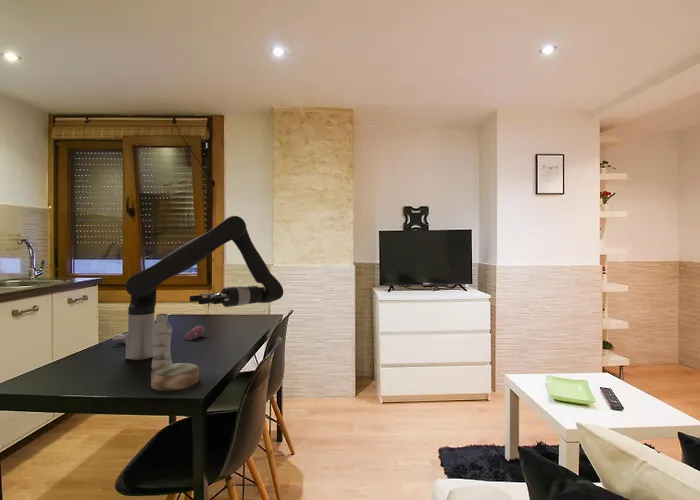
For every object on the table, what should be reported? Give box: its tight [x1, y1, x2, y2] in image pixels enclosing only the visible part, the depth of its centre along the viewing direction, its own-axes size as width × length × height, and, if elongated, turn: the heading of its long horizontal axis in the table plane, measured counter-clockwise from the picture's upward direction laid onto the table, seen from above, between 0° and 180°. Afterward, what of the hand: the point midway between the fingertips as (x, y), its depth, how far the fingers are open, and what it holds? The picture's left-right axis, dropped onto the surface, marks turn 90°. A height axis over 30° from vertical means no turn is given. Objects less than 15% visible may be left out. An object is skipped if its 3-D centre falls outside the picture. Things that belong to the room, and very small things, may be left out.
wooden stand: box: [150, 362, 200, 392], centre depth 125 cm, size 14×14×4 cm
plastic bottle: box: [150, 313, 173, 371], centre depth 135 cm, size 6×7×20 cm
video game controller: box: [183, 325, 206, 341], centre depth 186 cm, size 10×5×7 cm, turn 169°
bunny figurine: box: [112, 333, 127, 344], centre depth 175 cm, size 10×5×15 cm
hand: (194, 300), depth 143 cm, fingers open, 8 cm apart
